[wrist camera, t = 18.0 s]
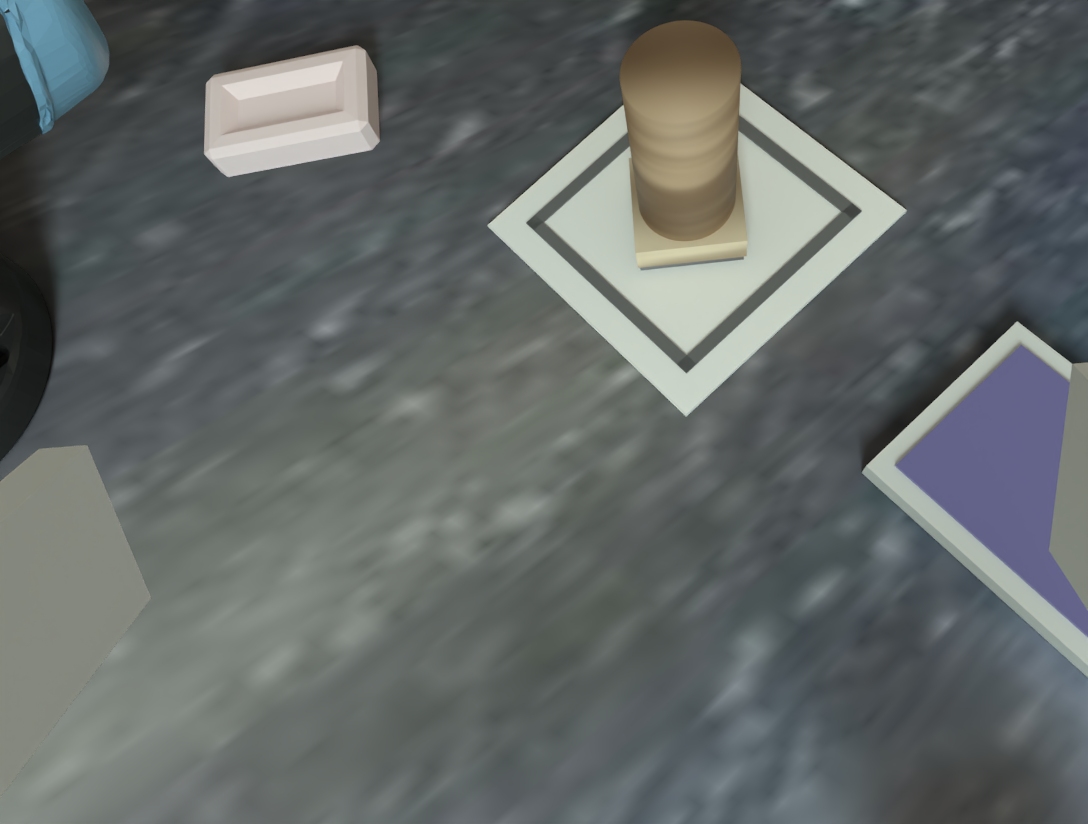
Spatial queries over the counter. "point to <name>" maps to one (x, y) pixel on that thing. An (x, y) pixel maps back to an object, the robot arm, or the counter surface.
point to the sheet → (704, 289)
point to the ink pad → (995, 481)
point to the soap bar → (292, 111)
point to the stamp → (684, 145)
